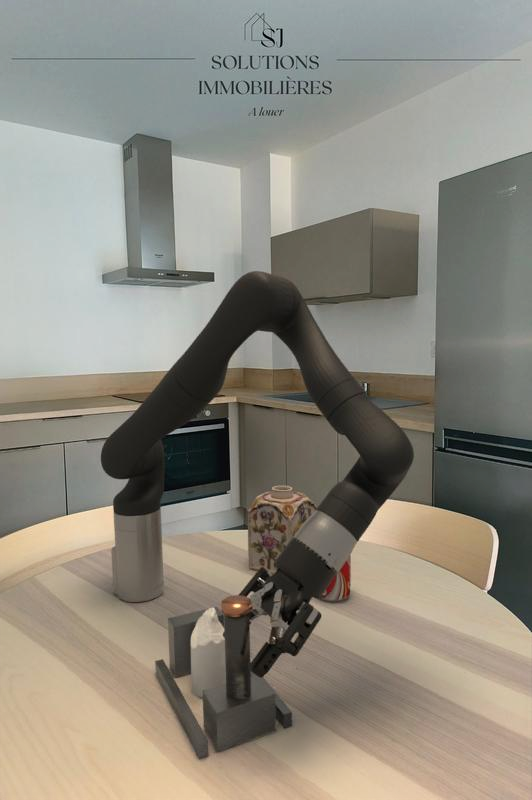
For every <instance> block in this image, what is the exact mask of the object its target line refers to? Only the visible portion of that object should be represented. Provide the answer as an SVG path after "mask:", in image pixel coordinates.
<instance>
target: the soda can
mask: <svg viewBox="0 0 532 800" xmlns="http://www.w3.org/2000/svg"><path fill="white" fill-rule="evenodd" d="M351 564H352V563H351V554H350V556H349V558H348V559H347V561H346V562H345V563H344V565H343V566H342V568H341V569H340V570H339V572H338V573H337V575H336V576H335V577H334V579H333V580H332V582H331V583H330V584H329V586H328V587H327V589H326V590H325V591H324V593H323V594H322V596H321V597H320V598H321V599H322V600H324V601H327V602H331V603H334V602H342V601H343V600H345V599H346V598H348V597H349V596H350V594H351V586H352V585H351V581H352V580H351V579H352V578H351V577H352V573H351V571H352V570H351V569H352V567H351V566H352V565H351Z"/></svg>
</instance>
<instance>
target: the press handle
mask: <svg viewBox="0 0 532 800" xmlns="http://www.w3.org/2000/svg"><path fill="white" fill-rule="evenodd" d="M220 608H221V610H220V611H221V612H222V613H223V614H224V634H225V669H226V683H225V684H222V685H219V686H216V687H212V688H209V689H206V690H203V698H202V712H203V713H202V714H203V715H202V717H203V728H204V730H205V731H206V733H207V734H206V735H208V737H209V739H210V740H211V743H212V744H213V746H214V748H215V749H216V752H220V751H222V750H226V749H229V748H231V747H234V746H237V745H240V744H242V743H247V742H248V741H251V740H253V739H257V738H259V737H263V736H266V735H268V734H270V733H274V732H276V731H277V719H276V700H275V693H274V691H275V690H274V689H273V690H274V691H273V690H272V689H271V688H270V687H269V685H270V684H269V683H268V684H269V685H268V684H267V683H266V682H265V681H264V679H265V678H264V677H263V678H264V679H263V678H260V677H258V676H257V675H252V676H251V670H250V669H249V665H250V662H251V639H250V638H251V631H250V630H251V629H250V628H251V627H250V625H251V624H250V622H251V621H250V620H249V613H250V612H251V610H252V606H251V599H250V597H248V596H247V597H246V596H240V595H239V594H238V595H236V594H235V595H231V596H227V597H225V598H223V599H222V600H221V601H220ZM249 621H250V622H249Z"/></svg>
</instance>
